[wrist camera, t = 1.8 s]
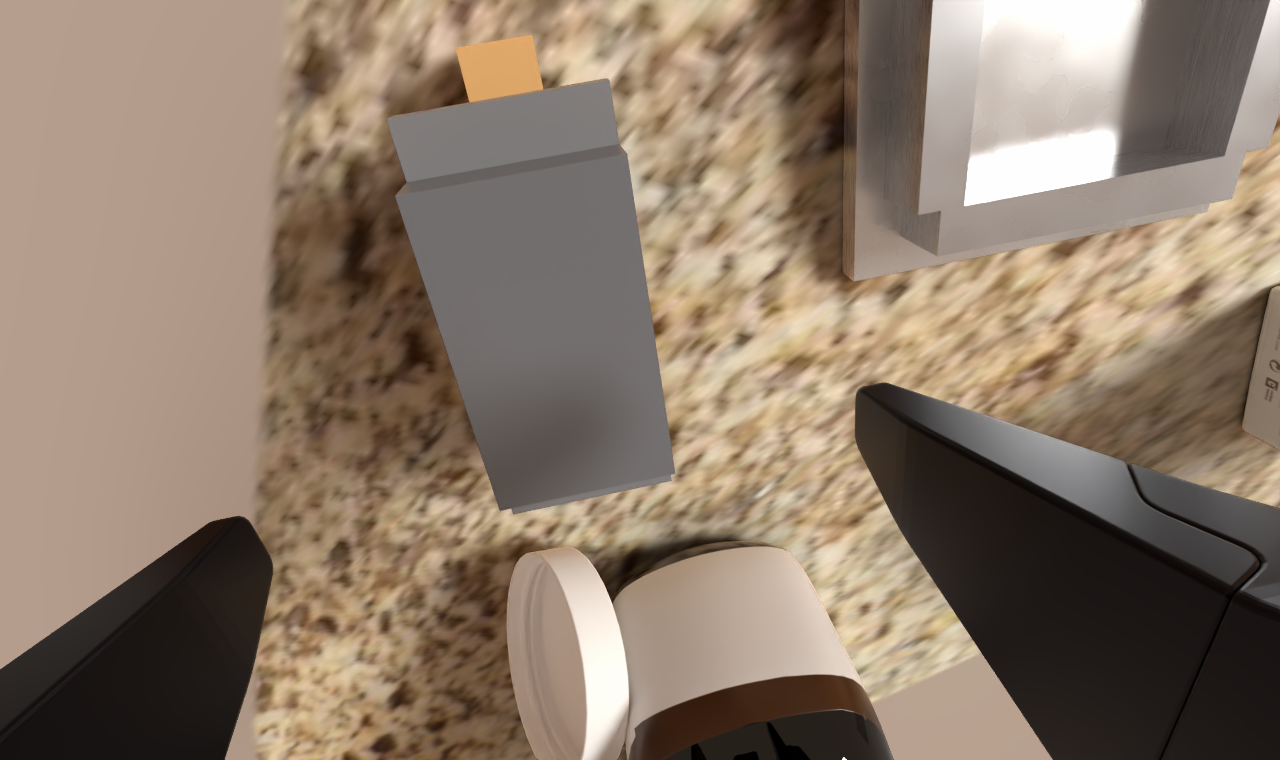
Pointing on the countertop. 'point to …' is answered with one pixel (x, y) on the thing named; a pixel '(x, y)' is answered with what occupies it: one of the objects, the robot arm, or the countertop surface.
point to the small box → (1266, 379)
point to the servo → (537, 279)
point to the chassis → (1043, 120)
